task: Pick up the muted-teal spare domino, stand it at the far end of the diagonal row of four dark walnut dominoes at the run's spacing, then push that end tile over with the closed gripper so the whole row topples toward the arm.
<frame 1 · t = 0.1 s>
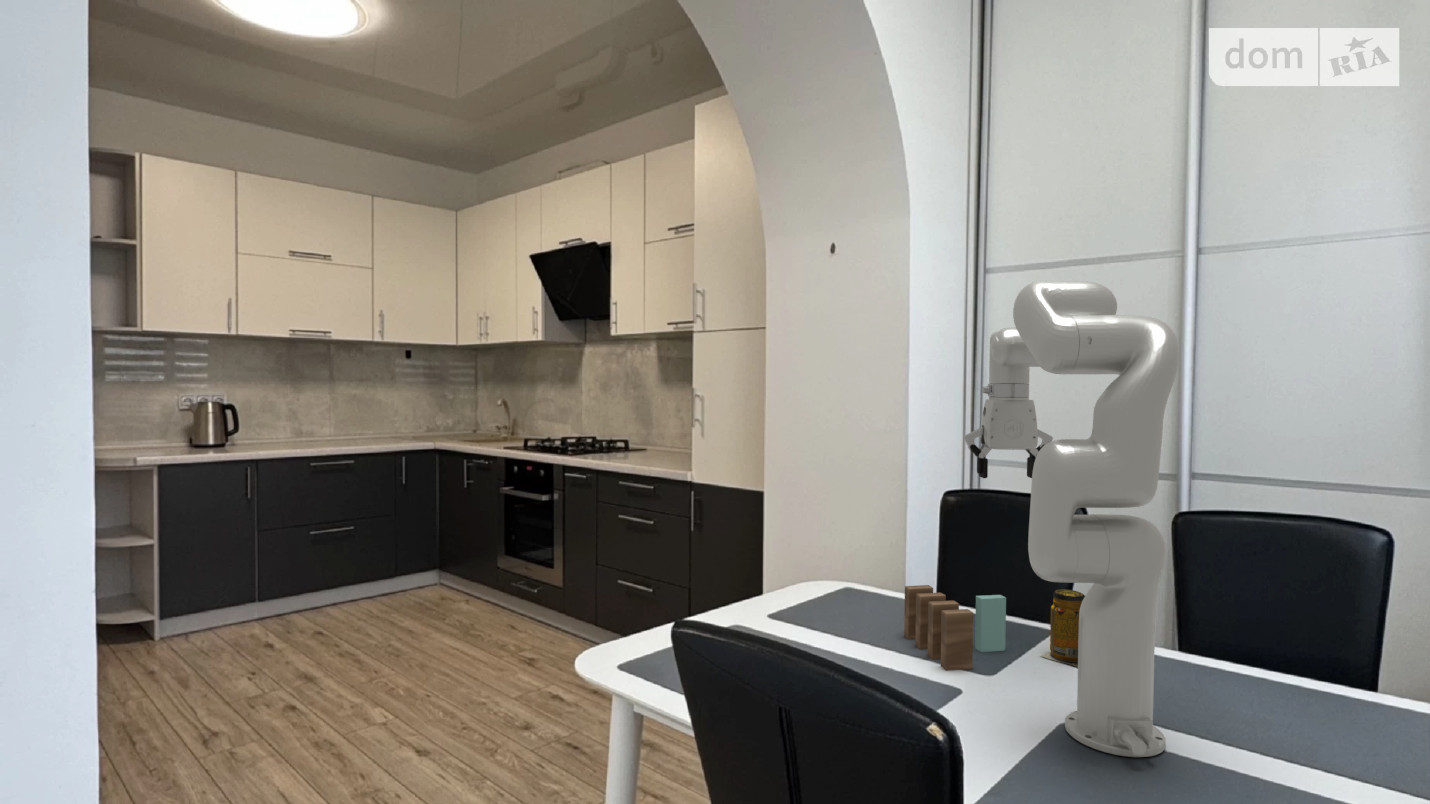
hand: (1007, 477, 150), 31 cm above the table, fingers open, 9 cm apart
domino 2: (942, 656, 137), on the table
domino 1: (956, 667, 132), on the table
domino 3: (930, 646, 142), on the table
domino 5: (990, 649, 141), on the table
domino 4: (918, 637, 147), on the table
condiment: (1072, 660, 136), on the table
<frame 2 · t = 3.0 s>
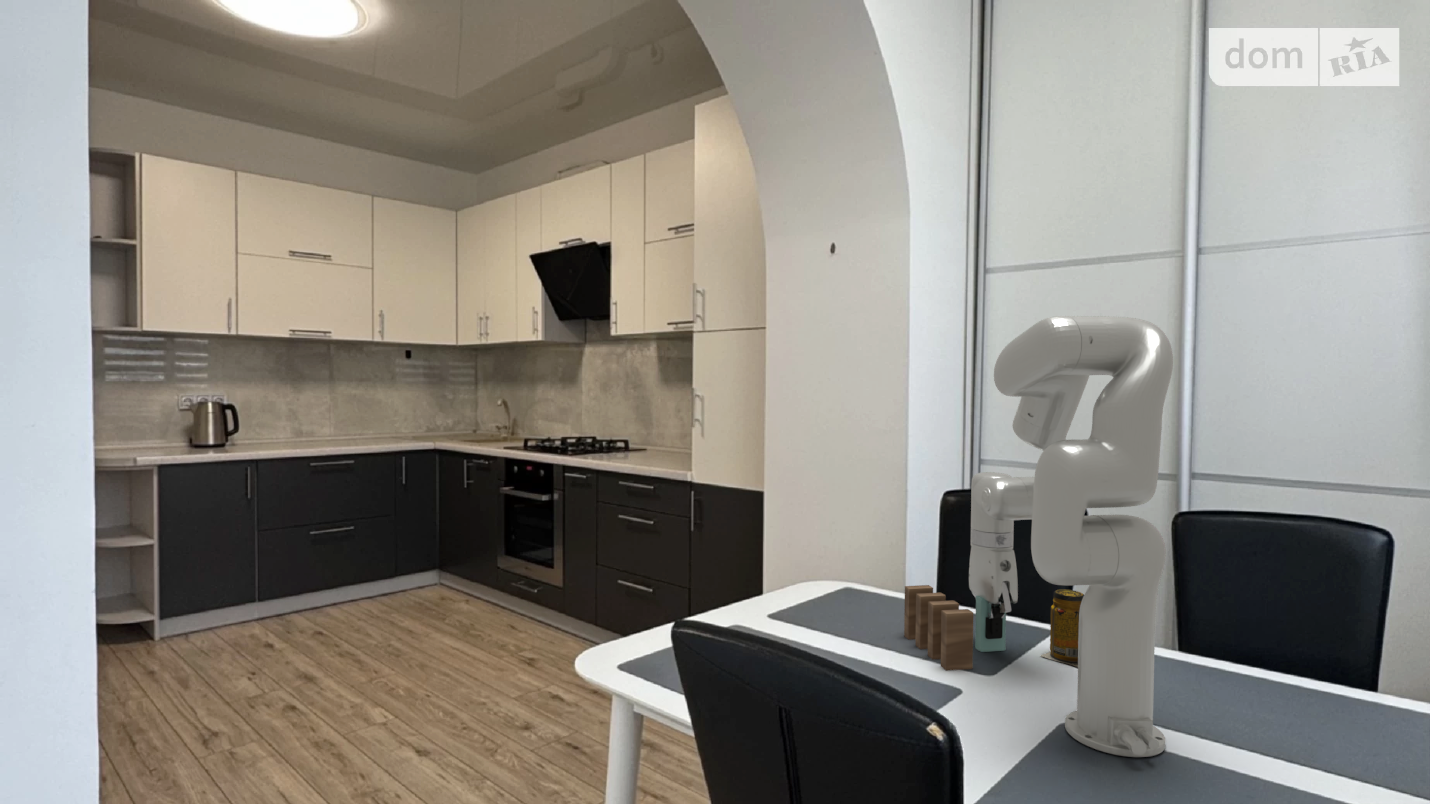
hand: (990, 635, 140), 3 cm above the table, fingers closed on domino 5, 1 cm apart
domino 5: (990, 649, 141), on the table, touching gripper
everything else where it was.
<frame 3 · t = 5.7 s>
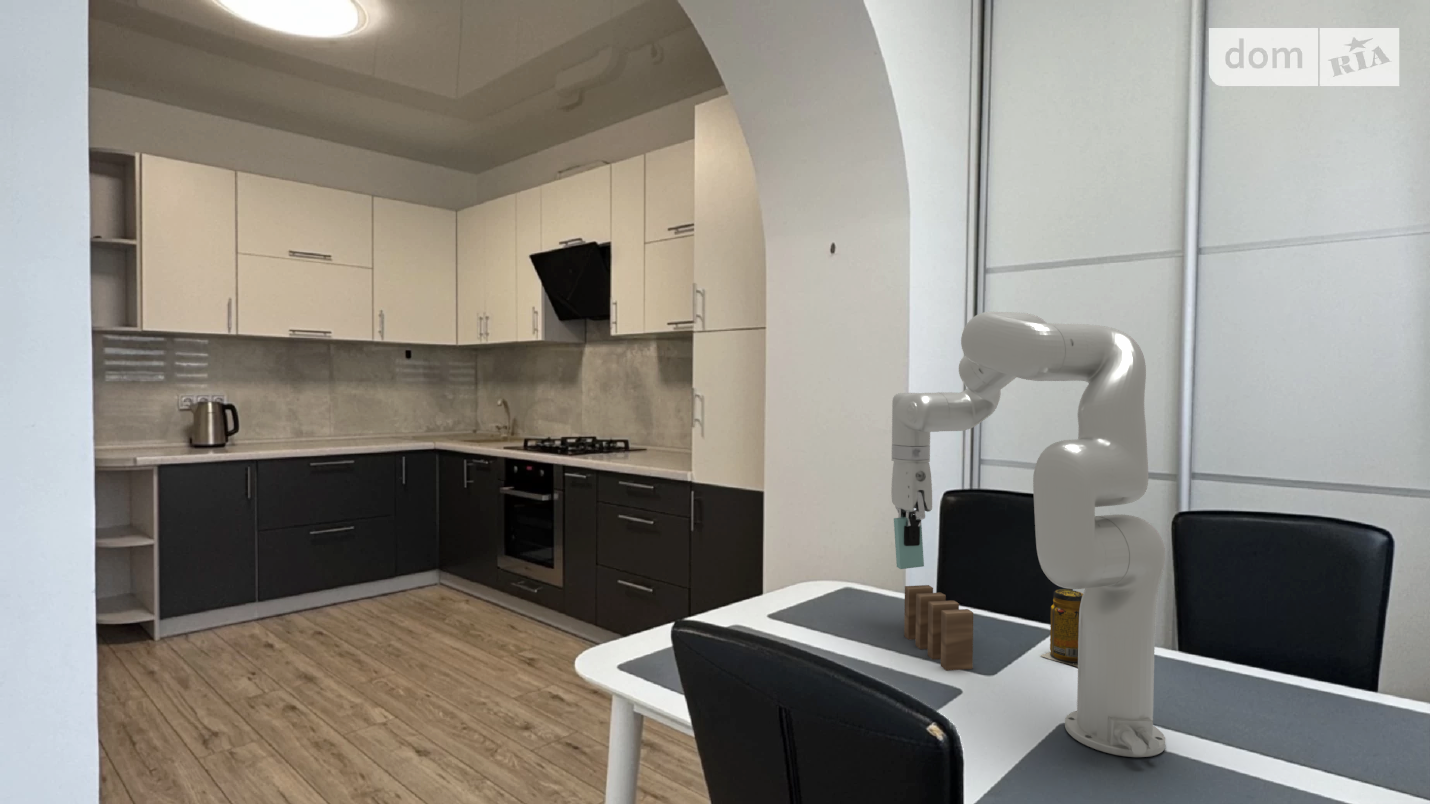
hand: (909, 543, 152), 17 cm above the table, fingers closed on domino 5, 1 cm apart
domino 5: (910, 566, 152), point 13 cm above the table, touching gripper
everything else where it was.
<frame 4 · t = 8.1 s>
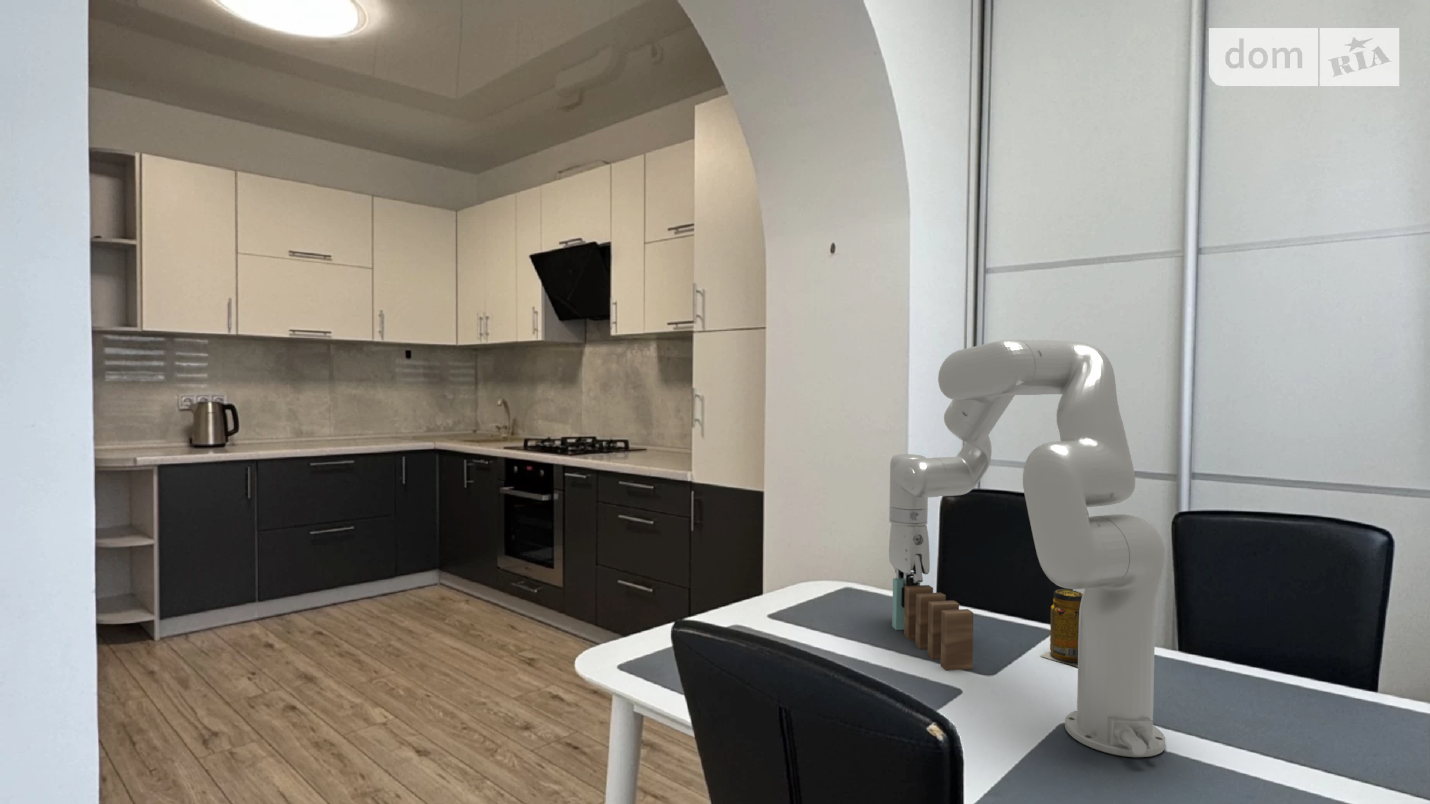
hand: (906, 604, 152), 5 cm above the table, fingers closed on domino 5, 1 cm apart
domino 5: (905, 627, 152), on the table, touching gripper
everything else where it was.
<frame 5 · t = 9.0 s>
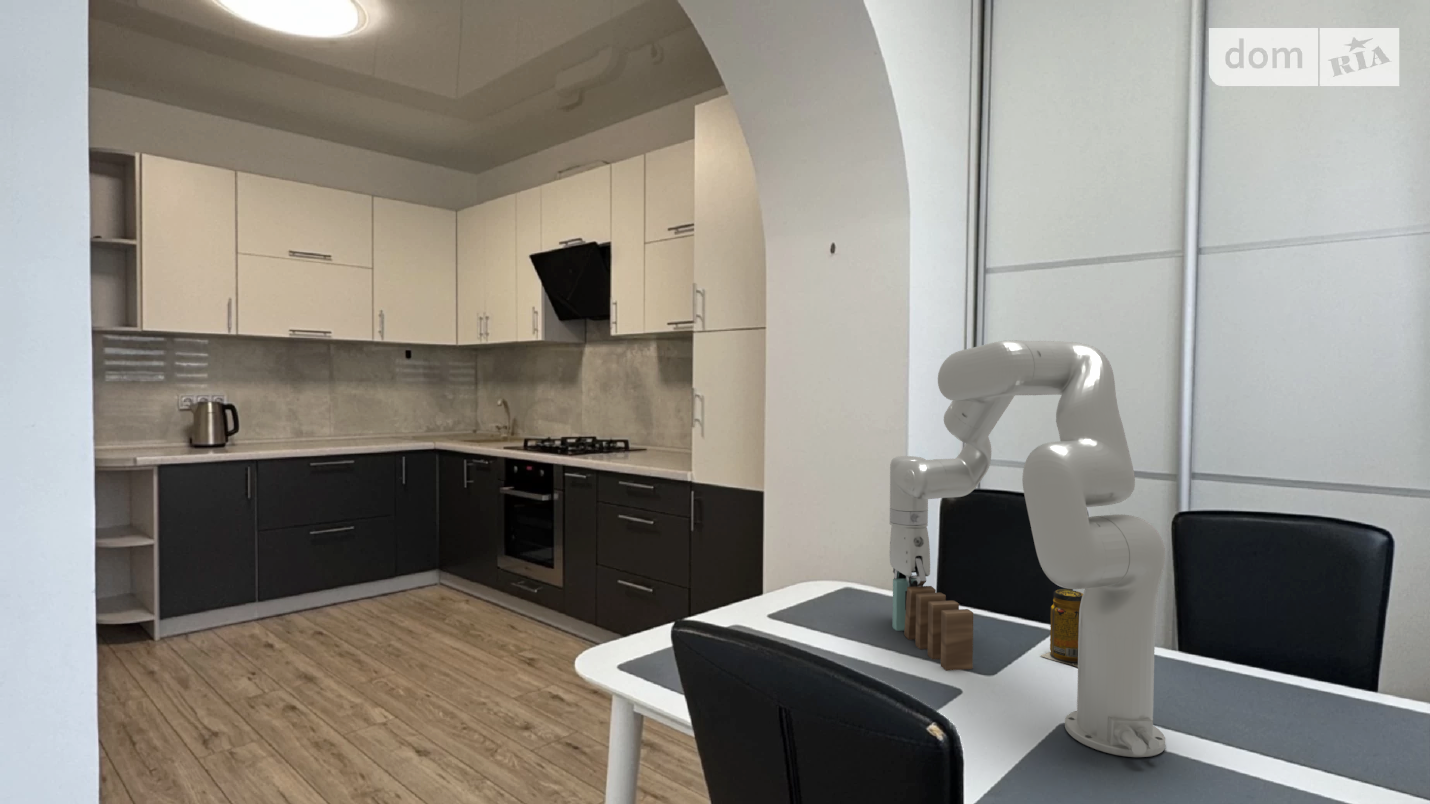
hand: (907, 605, 152), 5 cm above the table, fingers open, 4 cm apart
domino 5: (906, 628, 152), on the table
domino 4: (918, 636, 147), on the table, tilted 6°, touching gripper
everything else where it was.
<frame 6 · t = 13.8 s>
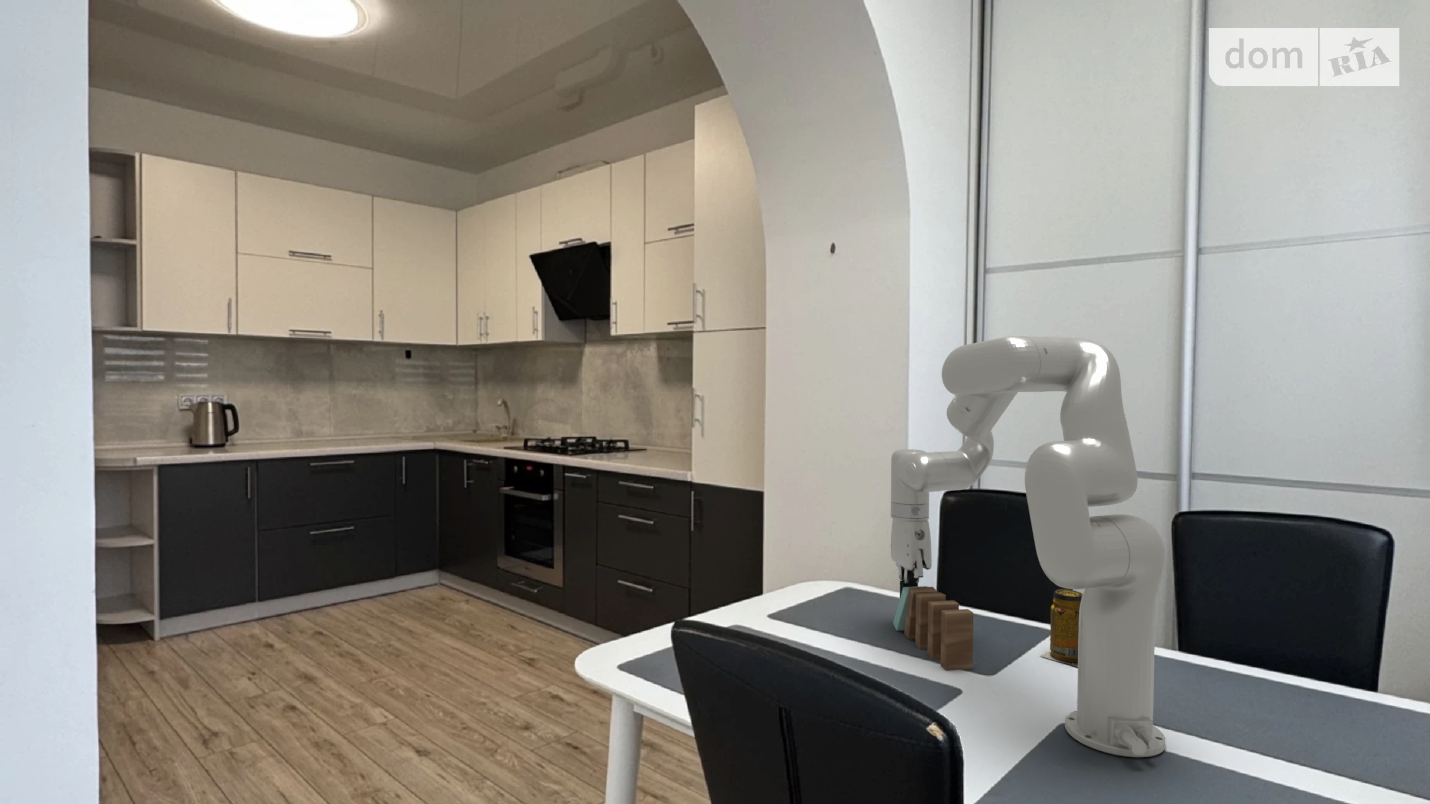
hand: (908, 600, 151), 6 cm above the table, fingers closed
domino 5: (906, 626, 152), on the table, tilted 29°
domino 4: (918, 636, 147), on the table, tilted 11°
everything else where it was.
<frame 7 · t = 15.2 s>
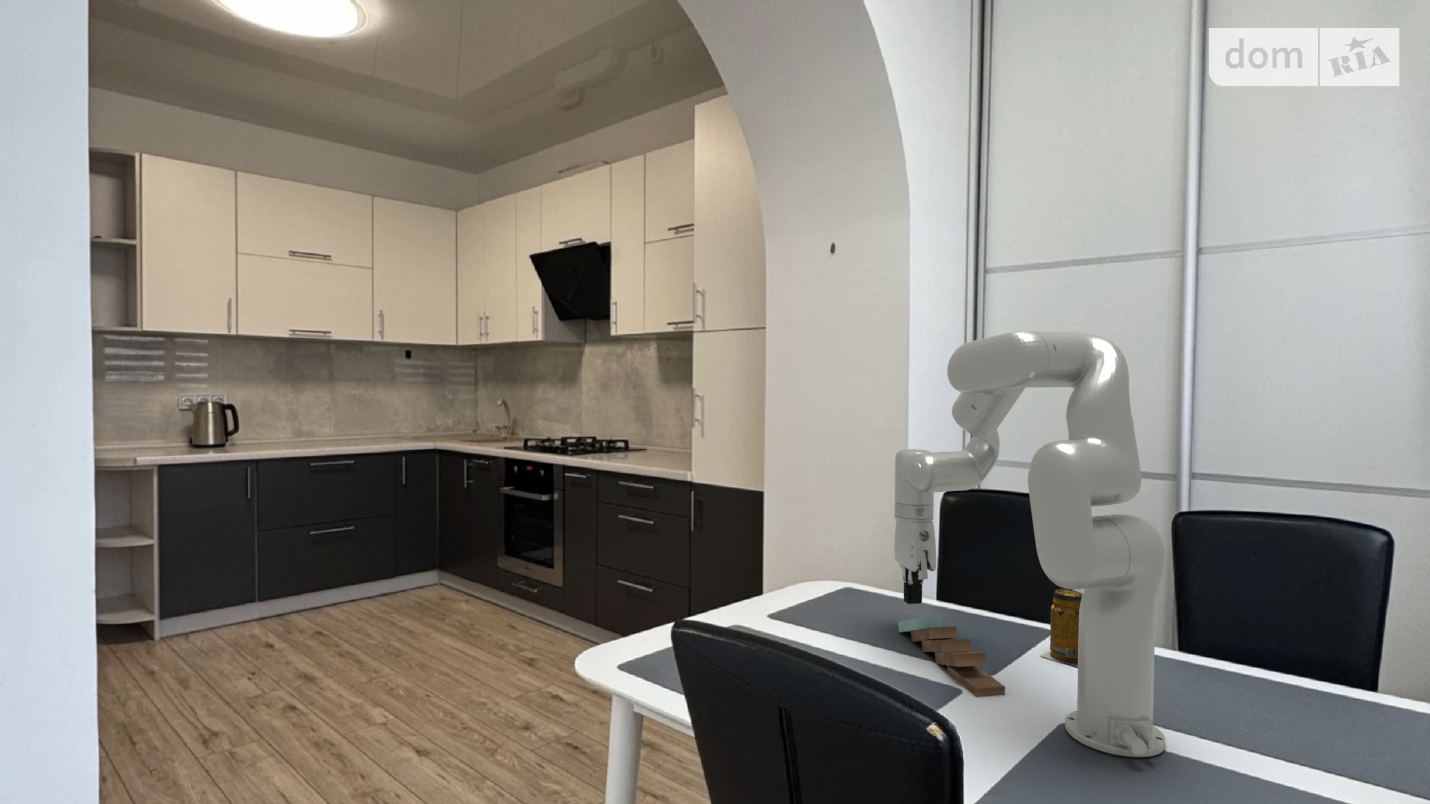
hand: (912, 602, 149), 6 cm above the table, fingers closed
domino 2: (948, 657, 134), point 1 cm above the table, tilted 72°, touching domino 3
domino 1: (960, 670, 130), on the table, tilted 90°
domino 3: (934, 645, 140), point 1 cm above the table, tilted 70°, touching domino 2, domino 4
domino 5: (910, 626, 151), point 1 cm above the table, tilted 68°, touching domino 4
domino 4: (923, 636, 145), point 1 cm above the table, tilted 67°, touching domino 3, domino 5
everything else where it was.
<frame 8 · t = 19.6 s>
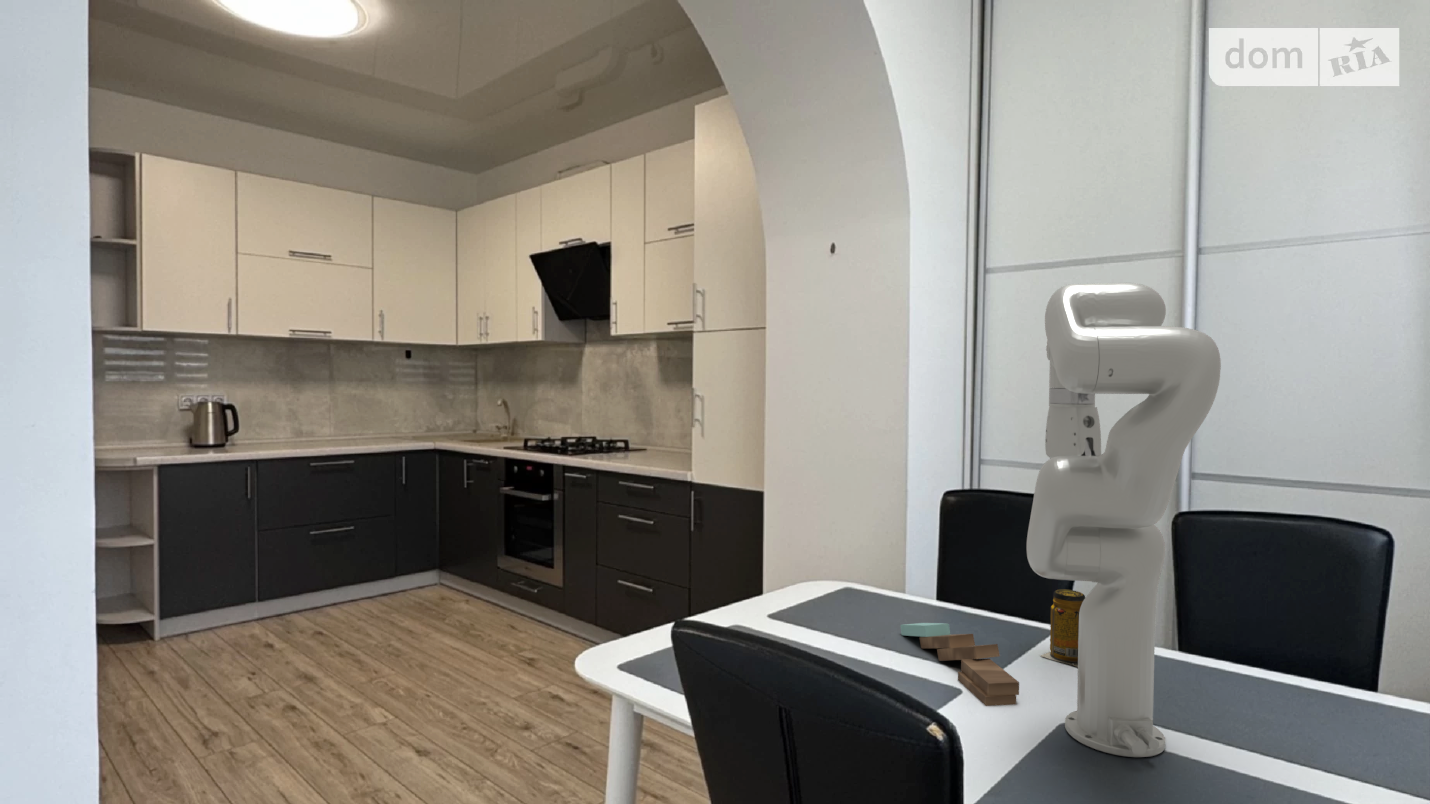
hand: (1069, 499, 135), 29 cm above the table, fingers closed
domino 2: (975, 664, 127), point 2 cm above the table, tilted 90°, touching domino 1
domino 1: (971, 677, 126), on the table, tilted 90°, touching domino 2
domino 3: (949, 653, 135), point 1 cm above the table, tilted 69°, touching domino 4
domino 5: (912, 629, 149), point 1 cm above the table, tilted 73°, touching domino 4
domino 4: (931, 641, 142), point 1 cm above the table, tilted 70°, touching domino 3, domino 5
everything else where it was.
at the end: domino 1 tilted 90°; domino 5 tilted 73°; the gripper is holding nothing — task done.
